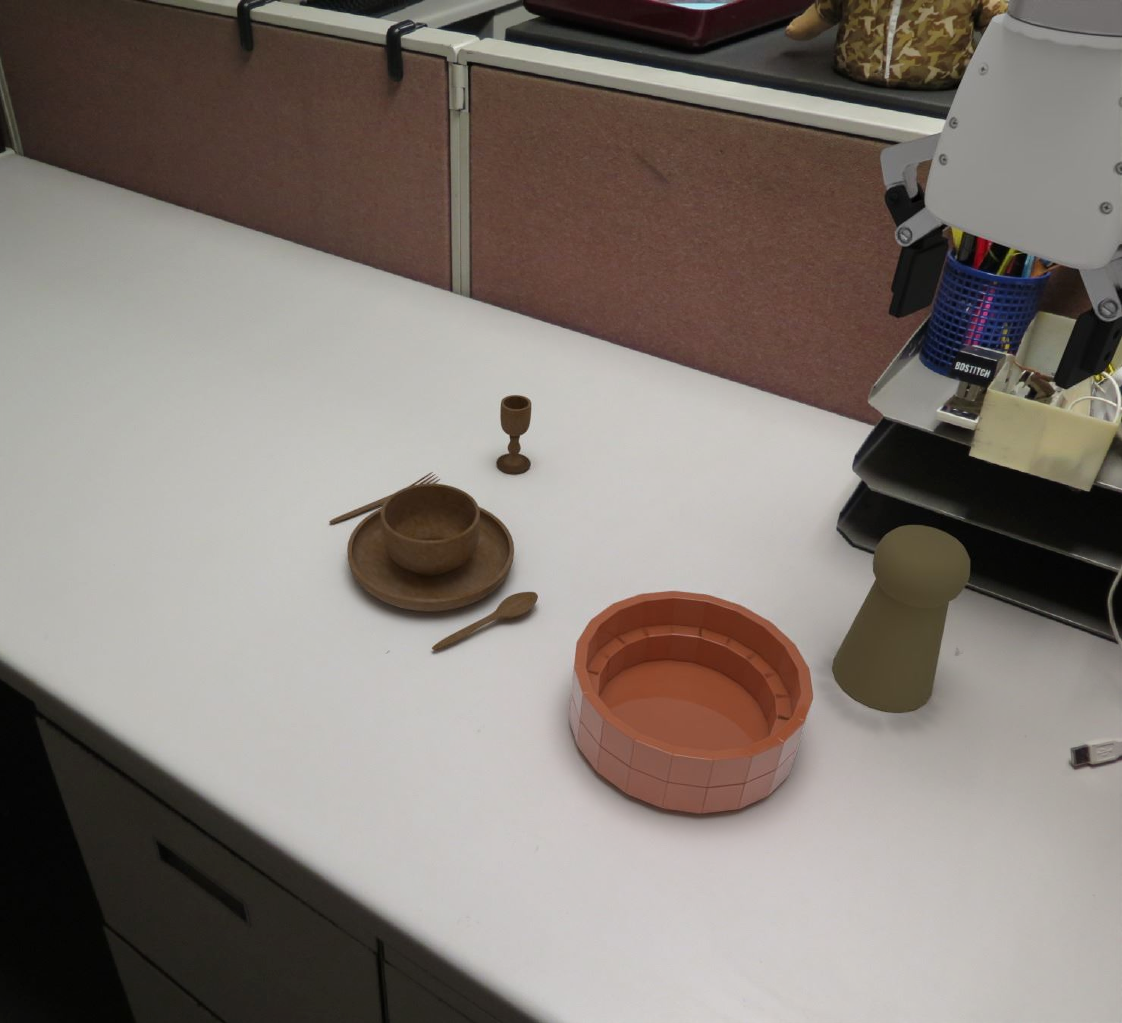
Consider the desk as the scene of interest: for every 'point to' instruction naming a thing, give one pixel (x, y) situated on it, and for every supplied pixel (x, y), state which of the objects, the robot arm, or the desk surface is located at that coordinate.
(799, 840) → the desk surface
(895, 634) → the cork
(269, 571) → the desk surface
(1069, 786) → the desk surface
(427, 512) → the place setting
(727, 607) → the bowl
